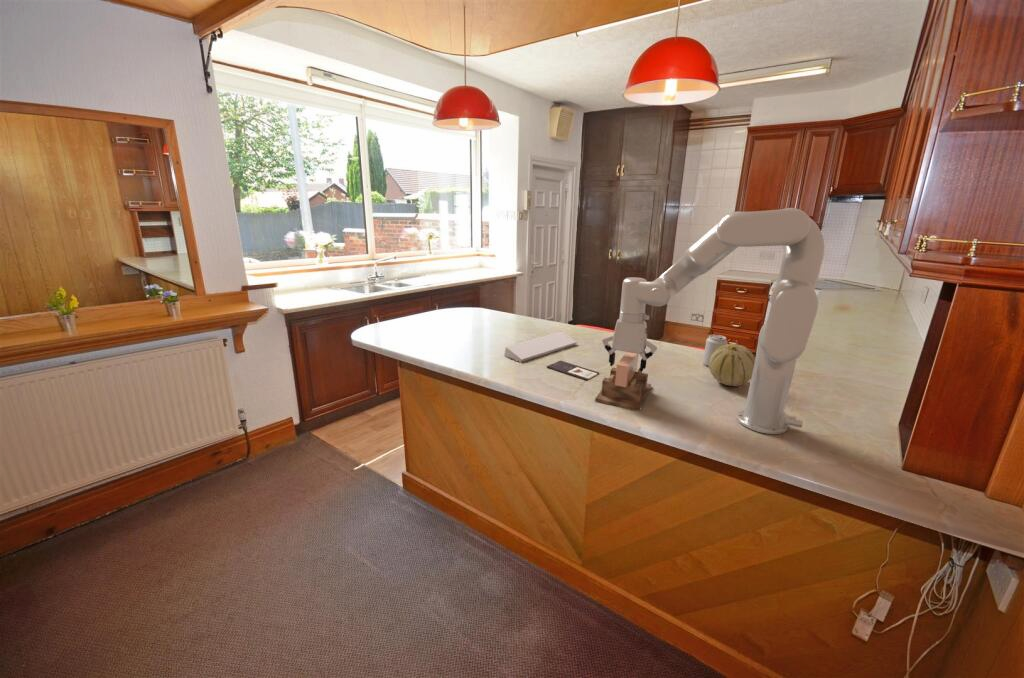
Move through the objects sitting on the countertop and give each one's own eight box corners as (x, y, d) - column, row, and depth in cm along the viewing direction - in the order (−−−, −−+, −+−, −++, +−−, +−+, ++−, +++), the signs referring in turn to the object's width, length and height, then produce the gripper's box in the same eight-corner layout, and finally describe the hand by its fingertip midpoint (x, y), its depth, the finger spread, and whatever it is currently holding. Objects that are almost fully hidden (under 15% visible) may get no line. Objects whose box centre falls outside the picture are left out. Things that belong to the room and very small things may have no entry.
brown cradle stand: (651, 386, 144) (653, 366, 142) (639, 410, 128) (641, 388, 125) (611, 379, 151) (612, 359, 148) (595, 401, 134) (596, 379, 131)
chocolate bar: (560, 360, 167) (599, 372, 155) (560, 362, 167) (599, 374, 156) (546, 366, 161) (585, 379, 149) (546, 368, 161) (585, 381, 149)
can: (718, 370, 159) (723, 340, 156) (699, 364, 165) (703, 336, 161) (726, 365, 164) (731, 336, 160) (707, 360, 169) (712, 332, 166)
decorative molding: (574, 350, 189) (559, 339, 195) (577, 341, 186) (561, 331, 192) (519, 369, 167) (503, 356, 173) (521, 359, 165) (505, 346, 171)
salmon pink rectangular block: (636, 370, 143) (638, 351, 141) (626, 387, 130) (628, 366, 127) (626, 368, 145) (628, 349, 142) (614, 385, 131) (616, 364, 129)
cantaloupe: (747, 378, 152) (755, 339, 147) (756, 395, 139) (765, 353, 134) (703, 373, 156) (710, 335, 151) (708, 389, 143) (715, 348, 138)
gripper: (662, 317, 130) (656, 368, 135) (607, 311, 138) (604, 359, 143) (658, 323, 124) (651, 376, 129) (601, 316, 131) (597, 366, 137)
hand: (626, 367), depth 136 cm, fingers open, 9 cm apart
